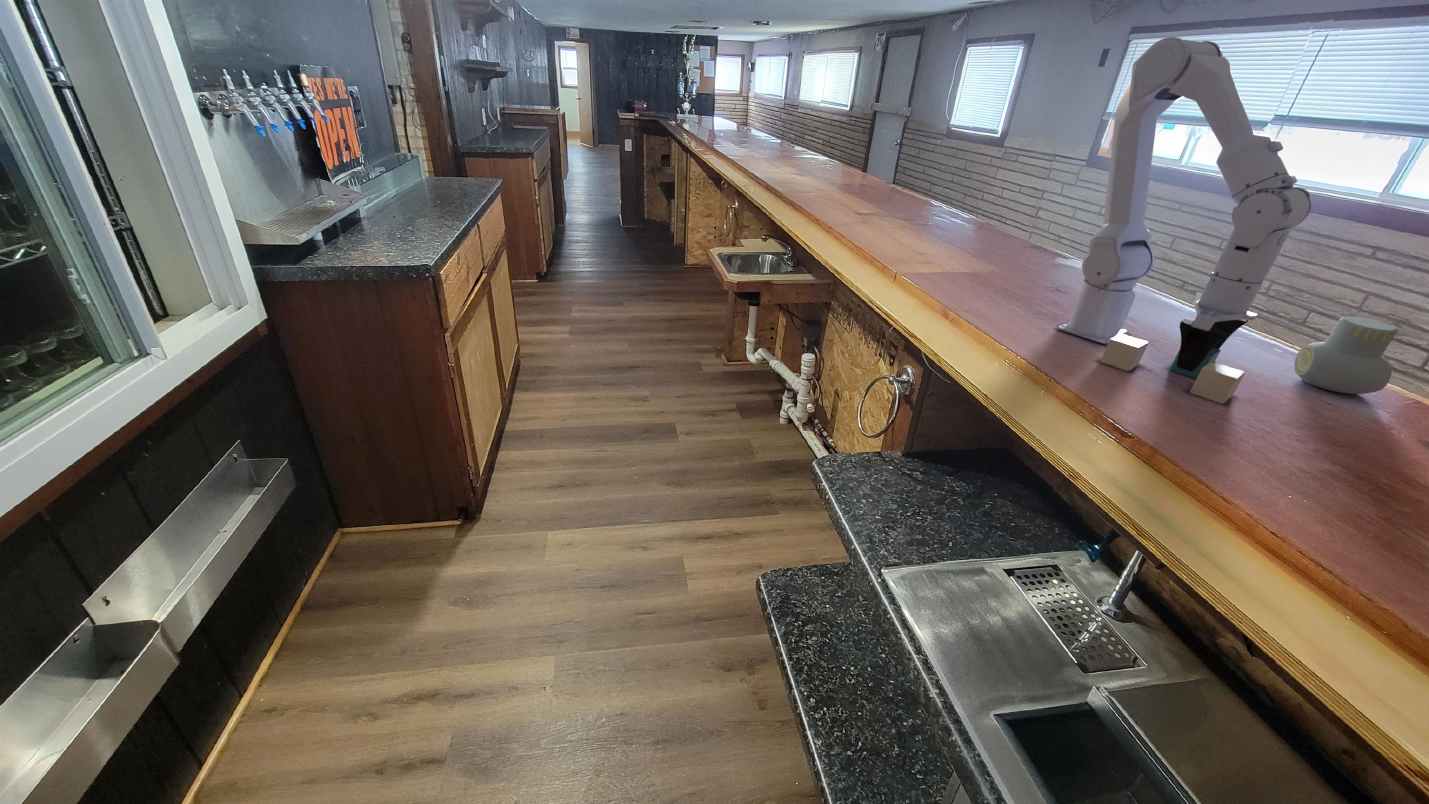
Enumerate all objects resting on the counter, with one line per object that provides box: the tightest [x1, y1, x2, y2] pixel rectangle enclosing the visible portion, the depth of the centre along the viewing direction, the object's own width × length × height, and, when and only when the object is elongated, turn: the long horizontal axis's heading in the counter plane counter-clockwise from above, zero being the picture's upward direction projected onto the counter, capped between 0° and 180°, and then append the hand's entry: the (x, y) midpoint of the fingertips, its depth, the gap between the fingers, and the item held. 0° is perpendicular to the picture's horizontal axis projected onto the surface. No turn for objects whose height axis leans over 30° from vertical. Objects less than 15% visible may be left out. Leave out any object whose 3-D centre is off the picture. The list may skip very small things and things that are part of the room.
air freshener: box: [1293, 315, 1399, 395], centre depth 82 cm, size 11×8×10 cm
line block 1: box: [1100, 334, 1149, 372], centre depth 88 cm, size 4×4×4 cm
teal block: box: [1169, 348, 1221, 380], centre depth 86 cm, size 4×4×4 cm
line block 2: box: [1189, 361, 1246, 405], centre depth 80 cm, size 4×4×4 cm
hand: (1193, 363), depth 87 cm, fingers open, 6 cm apart
